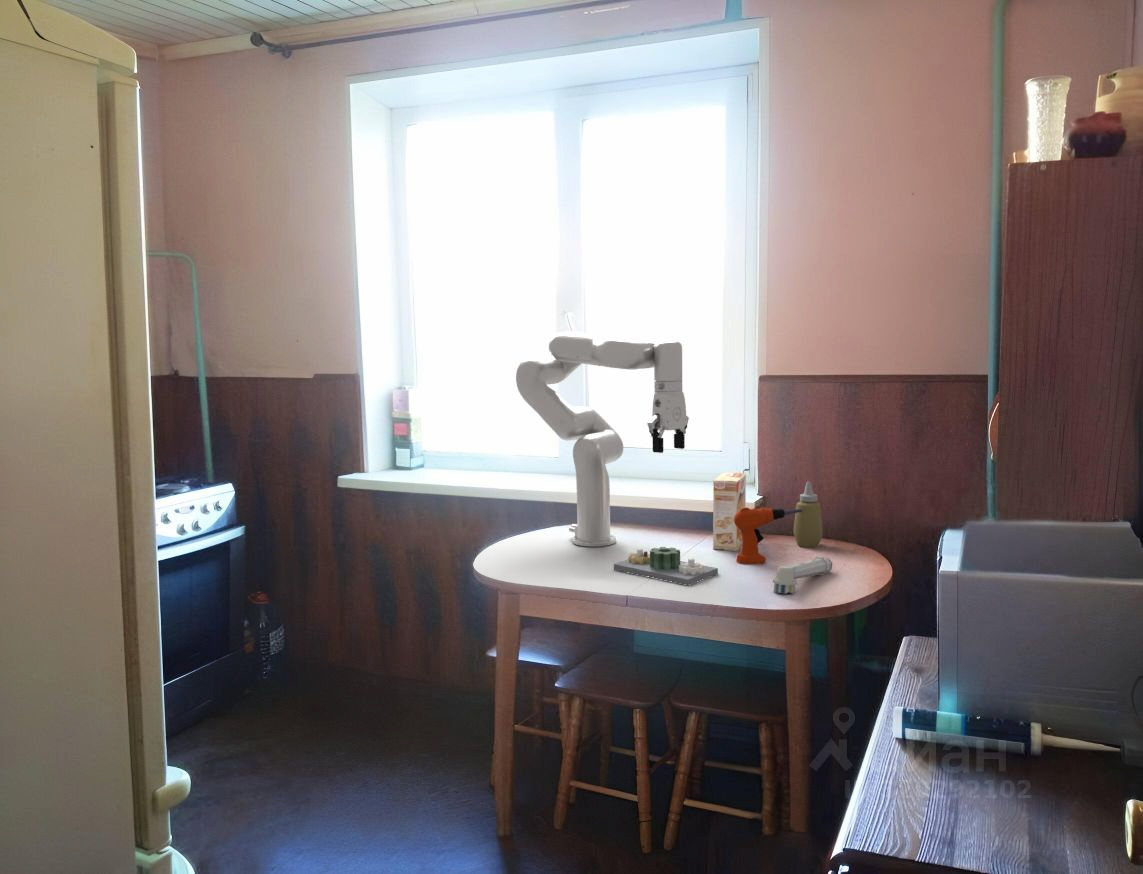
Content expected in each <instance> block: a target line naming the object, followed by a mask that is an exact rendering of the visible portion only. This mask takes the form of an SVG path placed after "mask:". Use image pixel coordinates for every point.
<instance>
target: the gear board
mask: <svg viewBox="0 0 1143 874" xmlns="http://www.w3.org/2000/svg"><path fill="white" fill-rule="evenodd" d="M627 557H628V559H624V560H622V561H618V562H616V563H615V562H614V563H613V570H614V571H617V570H619V572H622V571H623V573H627V572H629V573H628V574H631V573H633V574H632V575H636V574H638V575H637V576H641V575H644V576H643V577H645V576H649V577H648V578H650V577H654V578H653V579H655V578H658V579H657V580H659V579H662V580H661V581H664V580H667V581H666V582H669V581H672V582H671V583H673V582H676V583H675V584H678V583H681V584H680V585H683V584H686V585H685V586H687V585H688V586H690V585H689V584H691V585H693V584H692V583H694V584H696V583H698V582H697V581H699V582H700V580H701V581H703V580H702V579H704V580H706V579H708V577H709V578H711V577H710V576H712V577H714V576H716V574H717V575H719V567H718V568H717V567H715V566H714V567H713V566H708V565H704V564H701V563H700V562H695V558H688V559H687V561H684V560H683V561H682V560H680V565H679V568H677V569H670V570H664V569H659V570H658V569H654V567H650V553H648V551H644V549H642V548H638V549H636V552H635V553H633V552H632V553H629V555H628V556H627ZM713 575H714V576H713ZM705 578H706V579H705ZM695 582H696V583H695Z"/></svg>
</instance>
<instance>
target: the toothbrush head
mask: <svg viewBox="0 0 1143 874" xmlns="http://www.w3.org/2000/svg"><path fill="white" fill-rule="evenodd" d="M832 570H833V562H832V561H831V559H830V558H829V557H825V556H824V557H821V556H815V557H814V558H813V559H810V560H806V561H803V562H801V563H800V562H799V563H797V564H794V565H791V566H787V565H783V566H781V565H780V566H778V568H777V571H776V577H774V578H772V583H773V591H774V592H775V593H778V594H779V593H780V594H788V593H789V594H794V593H795V592H796V586H797V585H798V580H797V579H803V578H807V577H808V578H809V577H814V576H817V575H819V576H823V575H824V574H827V573H829V572H830V571H832Z"/></svg>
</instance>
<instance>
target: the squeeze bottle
mask: <svg viewBox="0 0 1143 874" xmlns="http://www.w3.org/2000/svg"><path fill="white" fill-rule="evenodd" d="M813 490H814V489H813V485H812V482H811V481H806V483H805V487H804V492H803V493H801V494H799V501H798V502H796V505H795V509H803V512H798V513H794V521H793V536H794V538H795V542H796V544H797V546H799V547H805V548H815V547H818V546H820V542H821V540H822V537H823V533H824V530H823V520H822V517H823V516H822V509H821V504H820V503H819V502H818V494H815V493H814V491H813Z"/></svg>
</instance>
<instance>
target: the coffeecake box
mask: <svg viewBox="0 0 1143 874" xmlns="http://www.w3.org/2000/svg"><path fill="white" fill-rule="evenodd" d="M712 482H713V489H712V490H713V492H712V493H713V495H712V496H713V500H712V501H713V503H712V505H713V508H712V509H713V513H712V514H713V516H712V517H713V518H712V525H713V526H712V531H713V532H712V534H713V535H712V536H713V537H712V538H713V539H712V542H713V543H712V549H713V550H720V549H724V550H723V551H732V550H735V551H736V552H737V551H739V549H740V548H741V547H742V534H741V530H740V529H739V528H738V527H737V526H736V525H735V523H734V516H735V515H736V513H738V512H739V511H740V510H741V509H742V508H745V507H746V502H747V501H746V499H747V498H746V497H747V493H746V492H747V491H746V486H747V485H746V483H747V473H743V472H722V473H721V474H720V475H719V476H717V477H716V478H715V479H714V480H713V481H712Z"/></svg>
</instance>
